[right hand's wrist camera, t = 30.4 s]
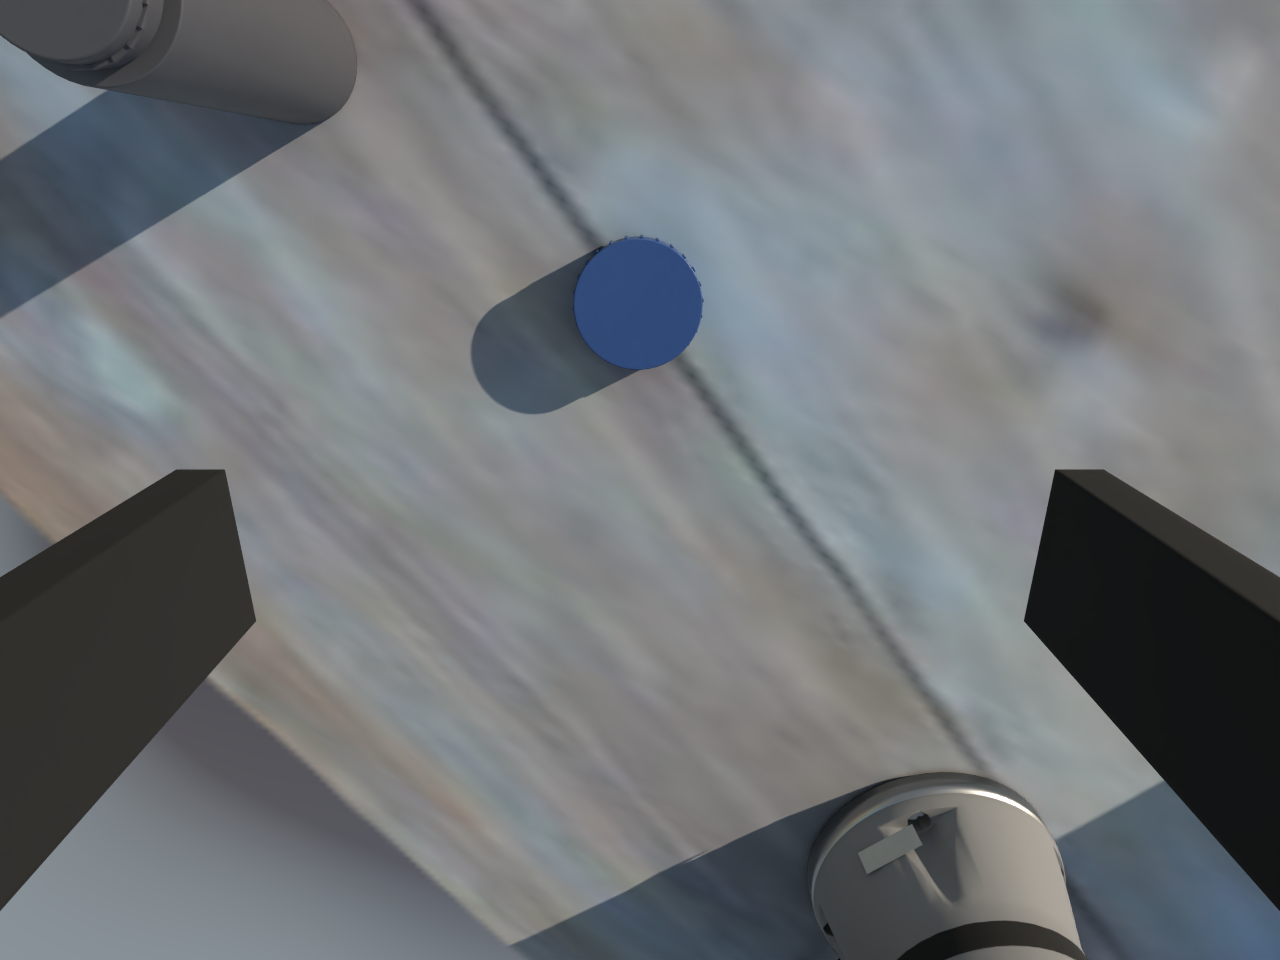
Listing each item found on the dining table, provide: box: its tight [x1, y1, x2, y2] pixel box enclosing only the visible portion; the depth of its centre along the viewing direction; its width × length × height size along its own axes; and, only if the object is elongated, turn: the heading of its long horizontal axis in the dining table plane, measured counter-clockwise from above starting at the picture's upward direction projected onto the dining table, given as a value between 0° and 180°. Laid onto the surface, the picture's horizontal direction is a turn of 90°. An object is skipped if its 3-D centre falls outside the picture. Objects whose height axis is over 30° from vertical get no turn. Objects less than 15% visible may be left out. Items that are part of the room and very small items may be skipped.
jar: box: [0, 0, 357, 124], centre depth 26 cm, size 5×5×15 cm
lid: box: [573, 235, 703, 370], centre depth 35 cm, size 6×6×2 cm
